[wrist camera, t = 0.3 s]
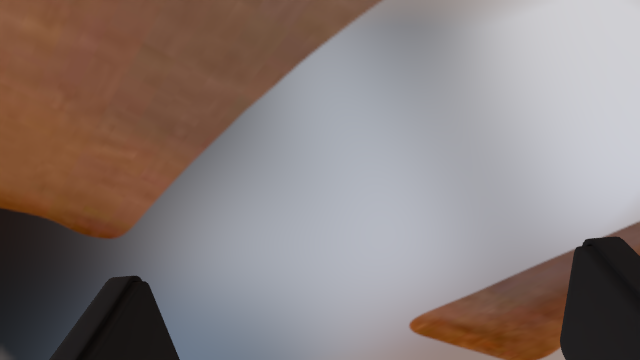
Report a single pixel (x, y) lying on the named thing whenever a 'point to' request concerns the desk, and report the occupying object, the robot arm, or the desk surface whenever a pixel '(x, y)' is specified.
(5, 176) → the desk surface
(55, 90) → the desk surface
